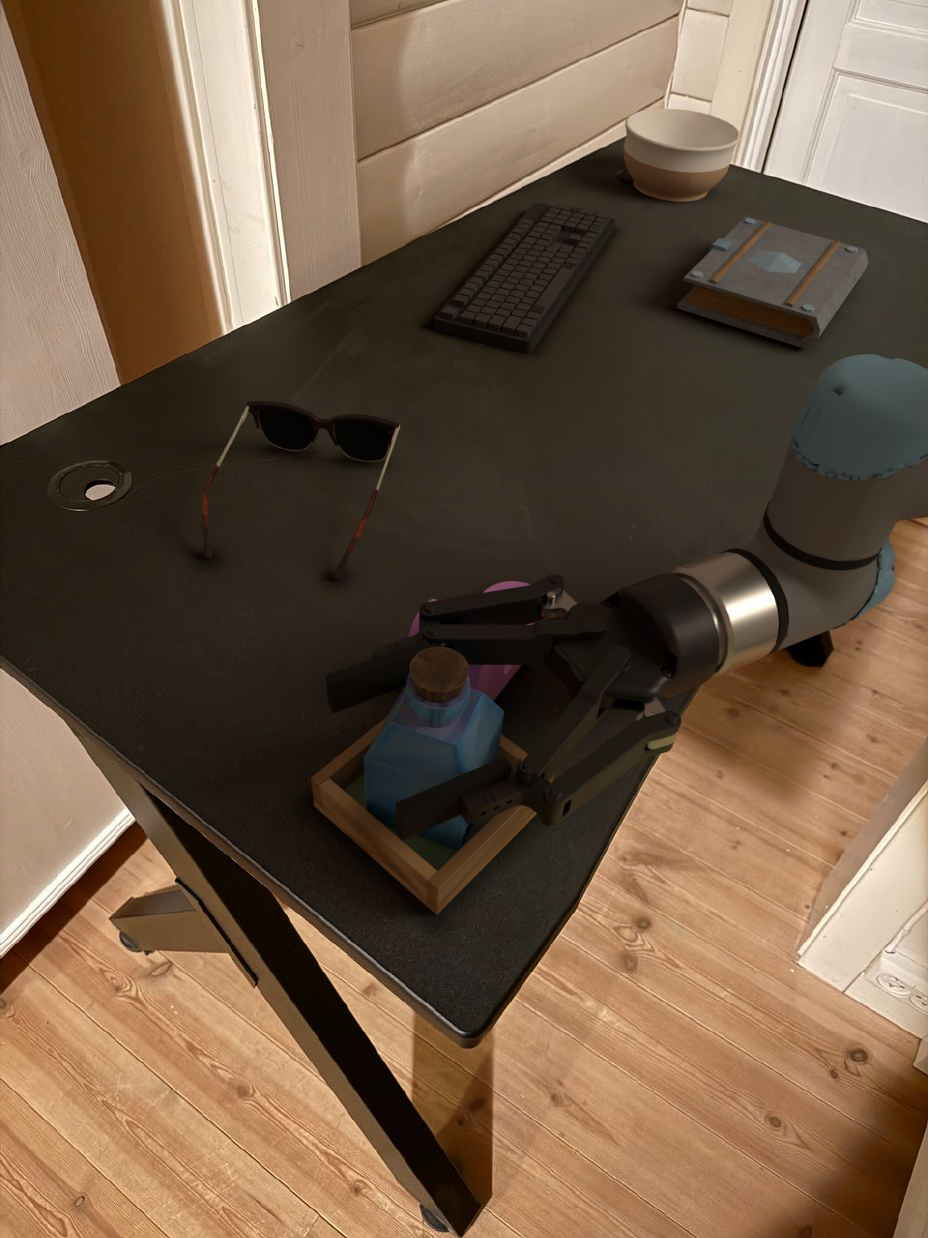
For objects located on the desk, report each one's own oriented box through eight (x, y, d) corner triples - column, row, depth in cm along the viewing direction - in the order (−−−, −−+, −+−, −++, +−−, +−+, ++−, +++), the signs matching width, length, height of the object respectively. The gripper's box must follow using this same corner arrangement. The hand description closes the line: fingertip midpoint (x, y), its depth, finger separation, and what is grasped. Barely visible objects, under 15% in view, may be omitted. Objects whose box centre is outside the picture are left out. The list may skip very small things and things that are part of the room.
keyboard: (533, 212, 122) (535, 196, 121) (614, 229, 120) (617, 213, 119) (432, 329, 99) (433, 312, 98) (530, 353, 97) (532, 336, 95)
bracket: (474, 724, 62) (481, 657, 57) (407, 688, 64) (408, 621, 59) (562, 613, 70) (575, 545, 65) (500, 584, 72) (508, 516, 67)
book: (811, 354, 100) (827, 312, 96) (672, 310, 105) (682, 268, 101) (859, 283, 113) (875, 244, 109) (733, 247, 118) (744, 208, 114)
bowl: (665, 157, 139) (676, 101, 133) (748, 193, 131) (764, 134, 125) (592, 179, 132) (601, 120, 126) (676, 218, 123) (690, 156, 118)
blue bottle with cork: (461, 850, 54) (473, 731, 45) (366, 815, 55) (361, 692, 47) (495, 770, 58) (513, 646, 49) (407, 739, 59) (408, 613, 51)
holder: (548, 801, 58) (555, 773, 56) (436, 915, 52) (438, 889, 50) (429, 710, 63) (430, 681, 60) (313, 806, 57) (310, 777, 55)
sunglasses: (401, 463, 82) (400, 419, 78) (357, 593, 72) (354, 548, 68) (254, 442, 83) (246, 396, 79) (190, 566, 73) (178, 520, 69)
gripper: (780, 787, 55) (449, 953, 46) (584, 565, 67) (296, 665, 59) (823, 710, 49) (456, 883, 41) (601, 485, 62) (286, 583, 54)
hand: (362, 754), depth 50 cm, fingers closed on blue bottle with cork, 9 cm apart
